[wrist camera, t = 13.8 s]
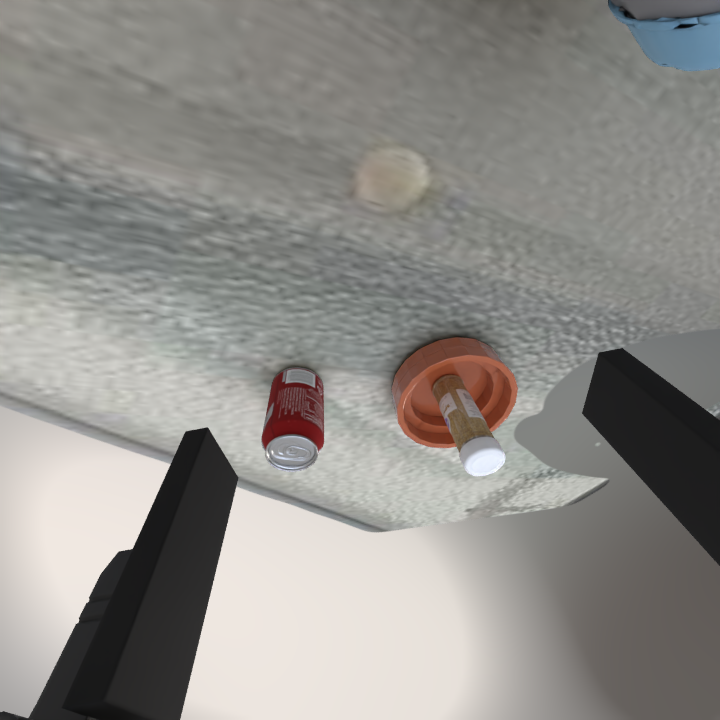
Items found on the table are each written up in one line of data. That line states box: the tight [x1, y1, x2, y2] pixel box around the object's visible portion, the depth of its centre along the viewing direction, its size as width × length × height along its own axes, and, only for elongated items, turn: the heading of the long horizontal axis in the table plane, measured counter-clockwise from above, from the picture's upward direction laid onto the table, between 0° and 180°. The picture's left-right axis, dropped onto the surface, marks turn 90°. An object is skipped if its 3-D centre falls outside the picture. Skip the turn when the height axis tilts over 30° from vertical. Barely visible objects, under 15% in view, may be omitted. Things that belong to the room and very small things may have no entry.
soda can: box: [262, 367, 324, 471], centre depth 41 cm, size 7×7×12 cm
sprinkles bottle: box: [432, 375, 505, 476], centre depth 42 cm, size 5×5×13 cm
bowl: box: [391, 337, 518, 448], centre depth 46 cm, size 16×16×5 cm
